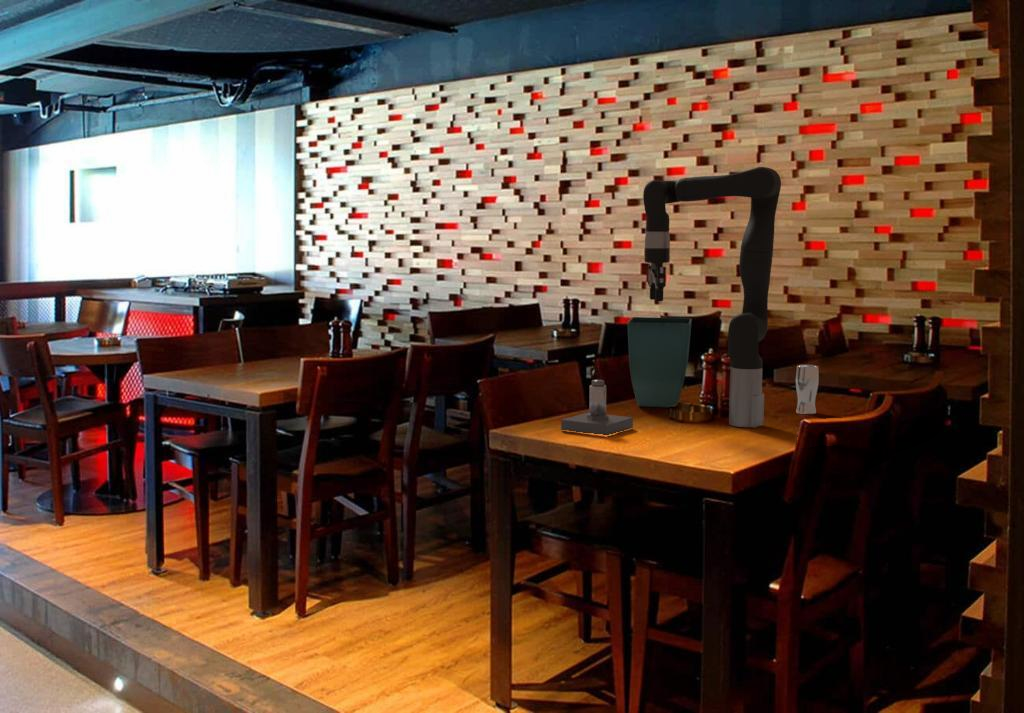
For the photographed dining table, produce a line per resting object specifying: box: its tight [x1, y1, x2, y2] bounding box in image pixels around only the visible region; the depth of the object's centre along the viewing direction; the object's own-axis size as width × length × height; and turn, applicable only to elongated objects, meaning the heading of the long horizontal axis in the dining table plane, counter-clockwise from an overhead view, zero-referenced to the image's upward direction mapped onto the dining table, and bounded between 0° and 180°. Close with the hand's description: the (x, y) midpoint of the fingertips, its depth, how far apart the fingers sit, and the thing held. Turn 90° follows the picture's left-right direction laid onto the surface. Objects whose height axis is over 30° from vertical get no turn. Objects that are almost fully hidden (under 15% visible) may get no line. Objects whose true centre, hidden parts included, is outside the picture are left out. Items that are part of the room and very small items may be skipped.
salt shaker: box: [587, 379, 609, 420], centre depth 293 cm, size 5×5×11 cm
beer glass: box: [795, 364, 820, 415], centre depth 323 cm, size 7×7×15 cm
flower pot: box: [627, 316, 693, 408], centre depth 337 cm, size 20×20×28 cm
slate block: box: [560, 411, 634, 435], centre depth 294 cm, size 15×15×4 cm
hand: (656, 300), depth 311 cm, fingers open, 8 cm apart
